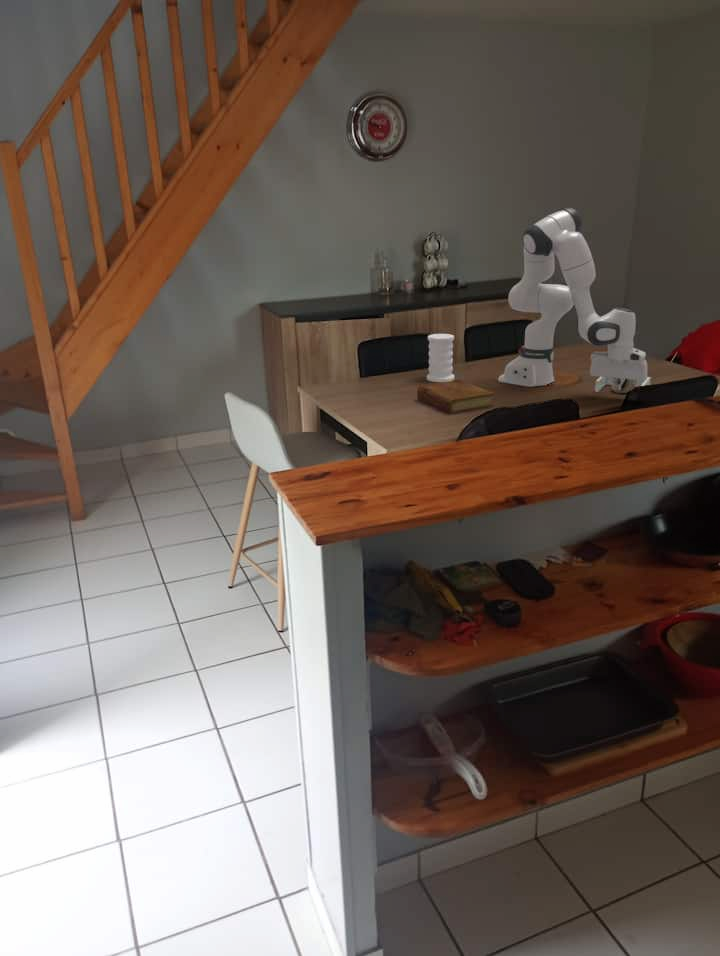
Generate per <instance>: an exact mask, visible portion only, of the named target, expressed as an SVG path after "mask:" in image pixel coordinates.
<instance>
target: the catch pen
mask: <svg viewBox="0 0 720 956" xmlns="http://www.w3.org/2000/svg"><path fill="white" fill-rule="evenodd" d="M651 379H652V377H651V376H647V377H646V379H645V380H643V381H642V380H636V385H635V387H638V386H645V385H650V386H651ZM606 385H607V386H612V384H611V382H610V378H609V377H598V378H597V379H596V380H595V387H594V392H595V393H598V392H600V391H601V390H602V388H604V387H605V386H606ZM635 387H634V388H635Z"/></svg>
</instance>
